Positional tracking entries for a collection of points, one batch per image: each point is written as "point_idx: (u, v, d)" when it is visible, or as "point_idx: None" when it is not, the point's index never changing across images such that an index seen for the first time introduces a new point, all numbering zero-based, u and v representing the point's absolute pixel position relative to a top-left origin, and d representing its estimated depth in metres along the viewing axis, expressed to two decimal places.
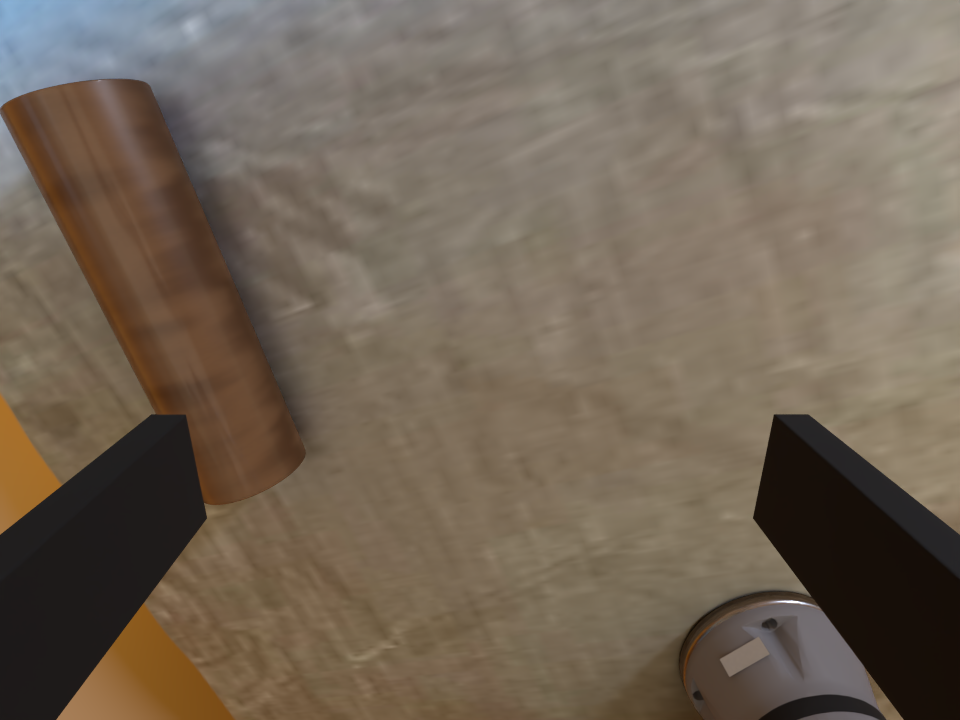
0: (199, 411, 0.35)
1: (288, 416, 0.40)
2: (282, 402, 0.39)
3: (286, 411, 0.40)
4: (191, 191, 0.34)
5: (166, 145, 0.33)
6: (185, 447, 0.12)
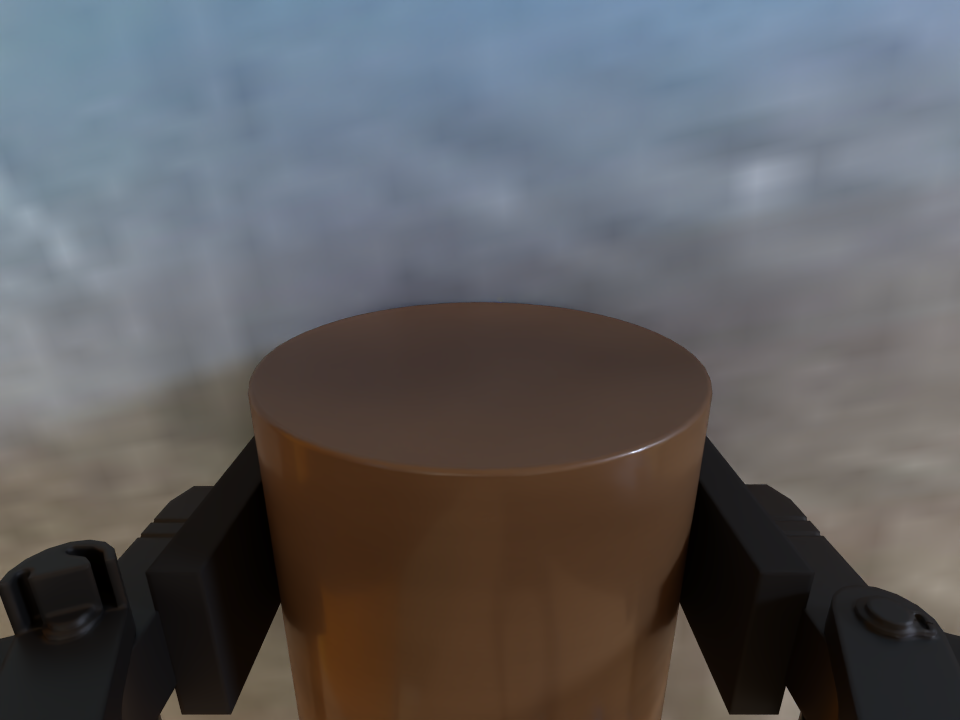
0: None
1: None
2: None
3: None
4: None
5: None
6: None
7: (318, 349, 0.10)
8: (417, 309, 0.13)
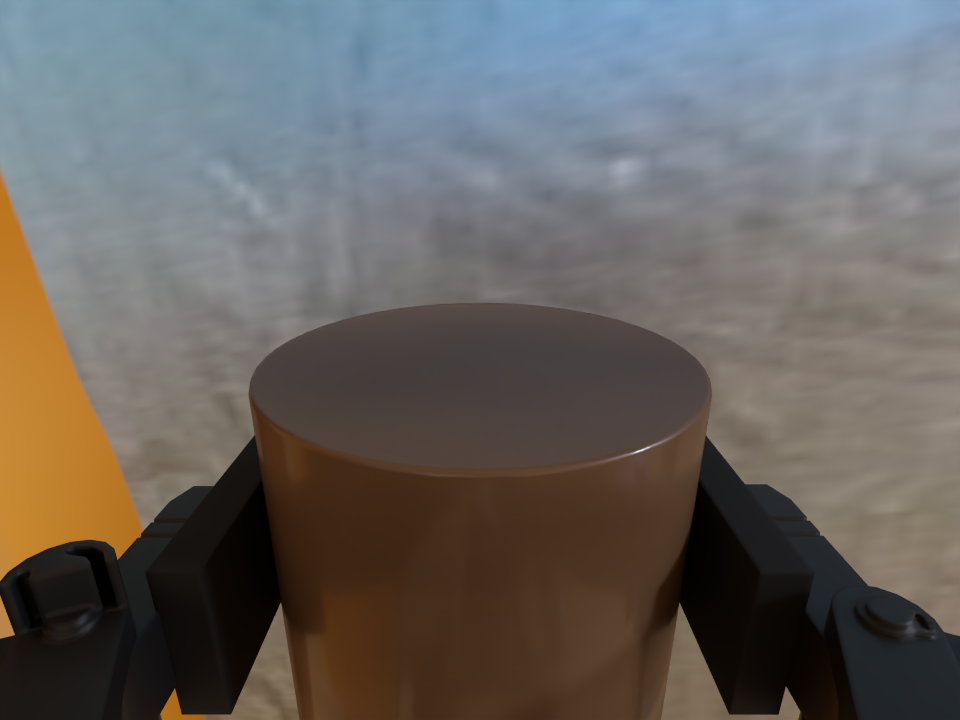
0: None
1: None
2: None
3: None
4: None
5: None
6: None
7: (318, 350, 0.10)
8: (417, 310, 0.13)
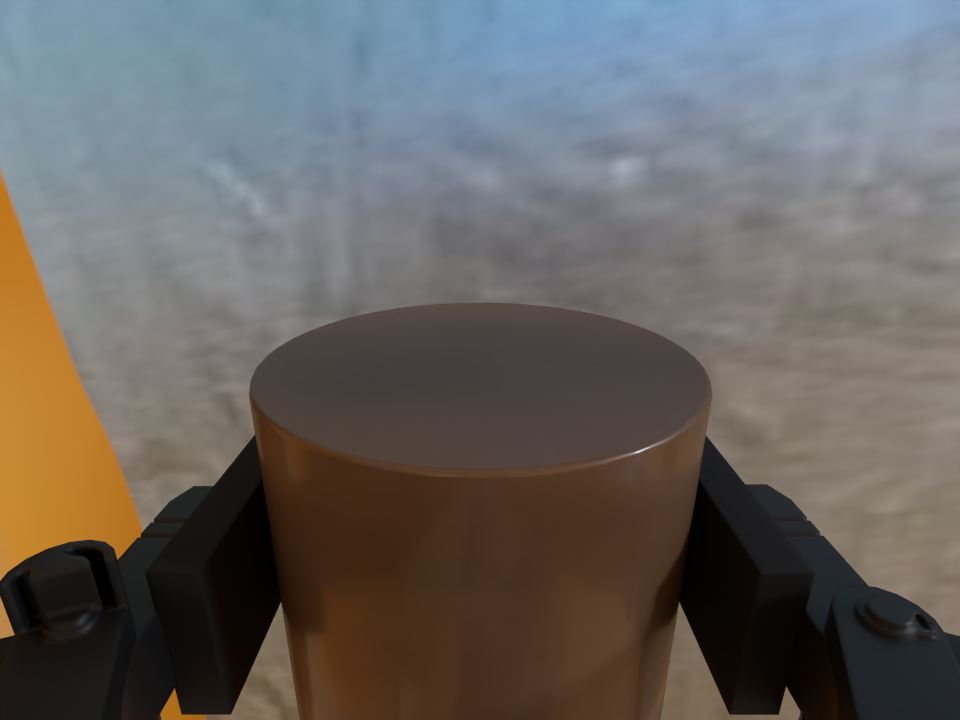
0: None
1: None
2: None
3: None
4: None
5: None
6: None
7: (319, 350, 0.10)
8: (417, 309, 0.13)
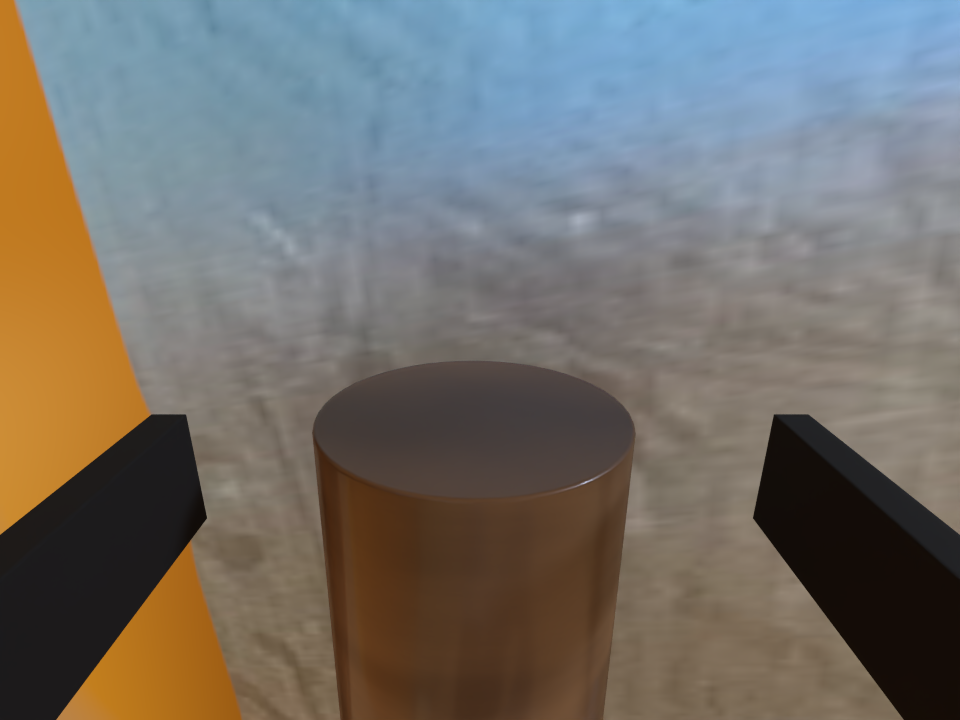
0: None
1: None
2: None
3: None
4: None
5: None
6: (185, 447, 0.12)
7: (356, 406, 0.14)
8: (425, 368, 0.17)
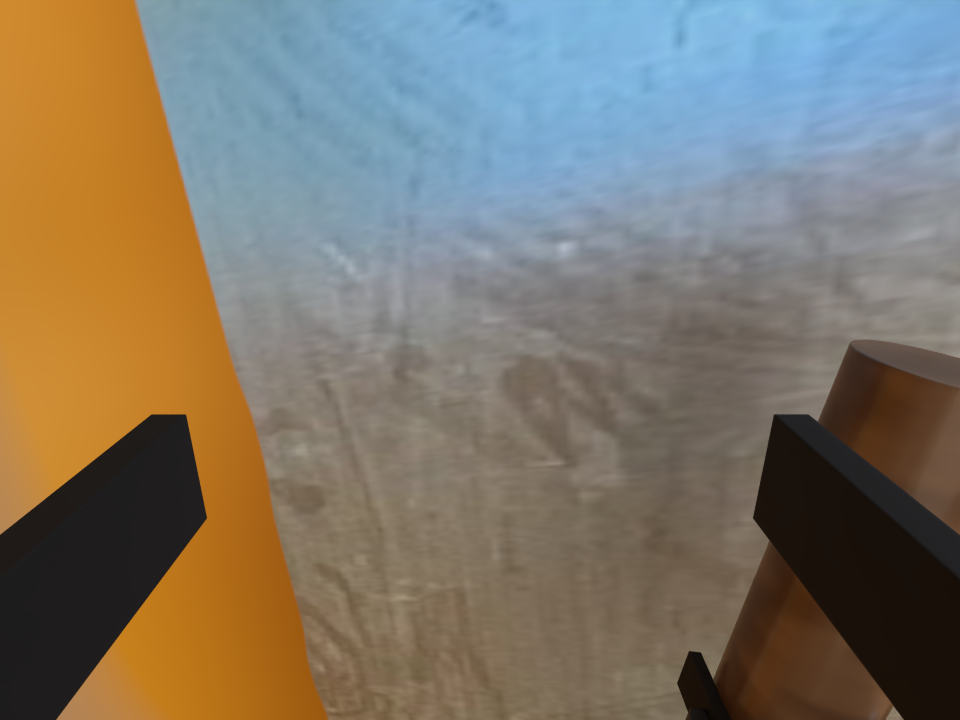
0: None
1: None
2: None
3: None
4: None
5: None
6: (185, 448, 0.12)
7: (880, 355, 0.25)
8: (871, 342, 0.28)
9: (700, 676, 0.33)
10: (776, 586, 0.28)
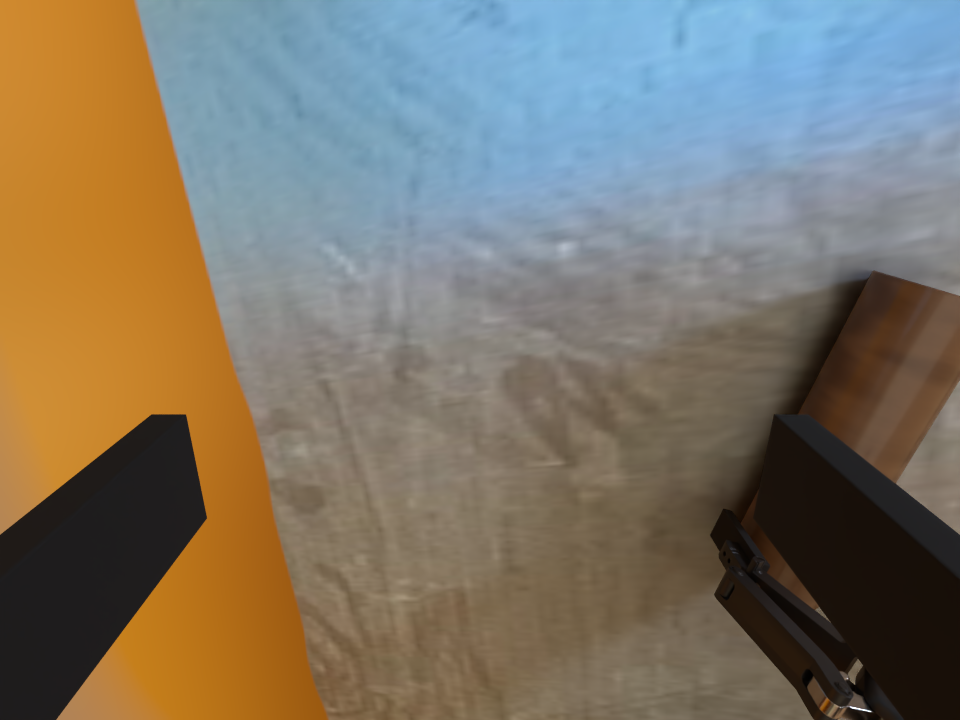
0: None
1: None
2: None
3: None
4: None
5: None
6: (185, 447, 0.12)
7: None
8: None
9: (732, 522, 0.44)
10: None
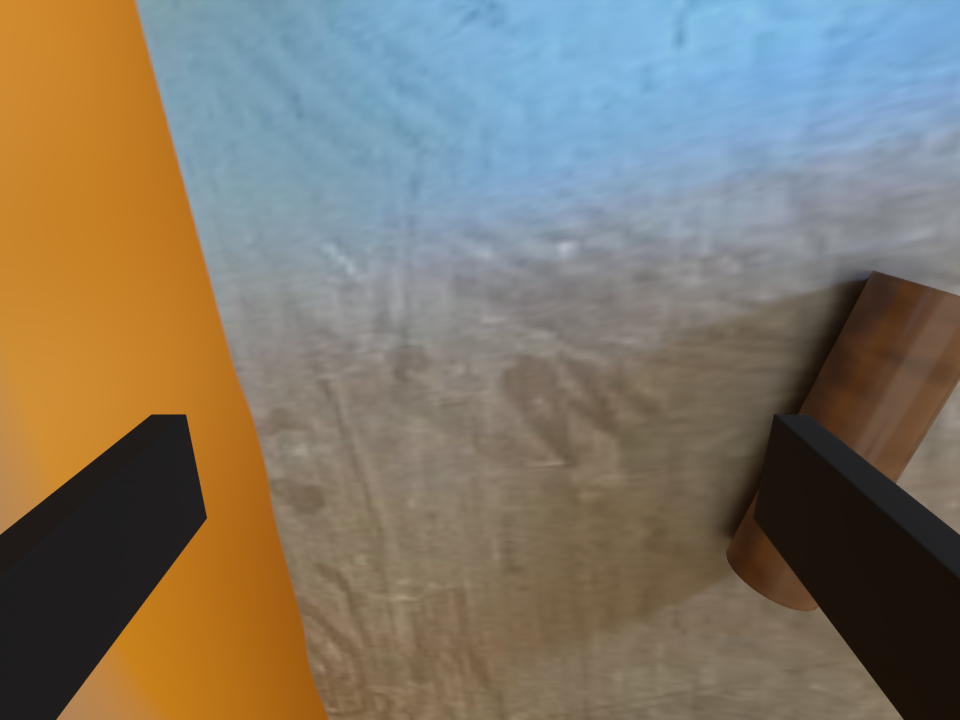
0: None
1: None
2: None
3: None
4: None
5: None
6: (185, 447, 0.12)
7: None
8: None
9: None
10: None
